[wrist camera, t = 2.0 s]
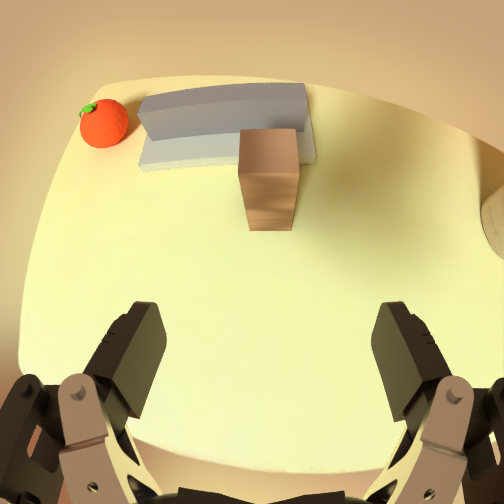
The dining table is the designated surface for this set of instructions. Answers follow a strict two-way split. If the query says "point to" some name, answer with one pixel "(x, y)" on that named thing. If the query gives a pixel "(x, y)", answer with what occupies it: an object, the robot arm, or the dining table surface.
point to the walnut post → (269, 177)
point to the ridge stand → (220, 123)
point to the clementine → (103, 123)
